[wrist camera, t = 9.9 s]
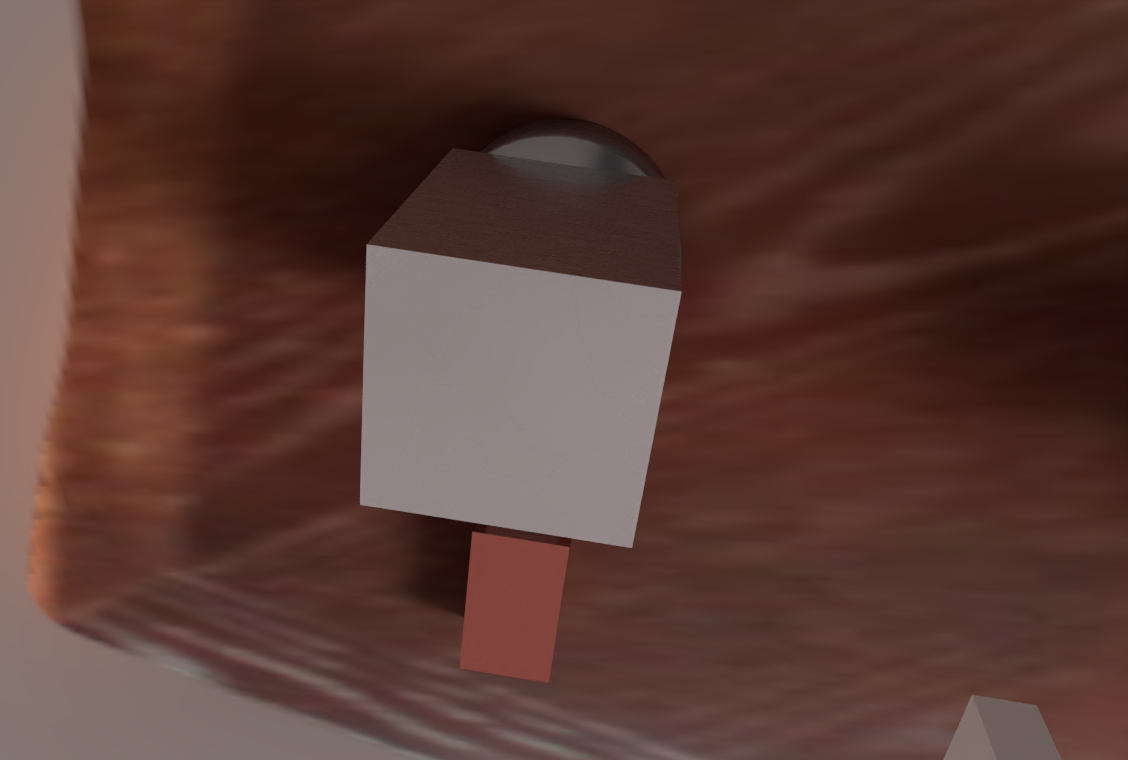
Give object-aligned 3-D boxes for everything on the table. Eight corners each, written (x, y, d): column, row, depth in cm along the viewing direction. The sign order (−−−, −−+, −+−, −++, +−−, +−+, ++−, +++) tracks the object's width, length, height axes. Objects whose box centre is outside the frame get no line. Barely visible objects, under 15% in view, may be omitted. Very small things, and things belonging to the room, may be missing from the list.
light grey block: (452, 148, 25) (366, 243, 18) (677, 180, 25) (681, 291, 17) (439, 350, 27) (359, 504, 20) (640, 381, 27) (631, 548, 20)
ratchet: (456, 102, 27) (404, 150, 21) (700, 137, 26) (708, 194, 21) (423, 612, 35) (380, 737, 30) (605, 641, 35) (595, 773, 30)
